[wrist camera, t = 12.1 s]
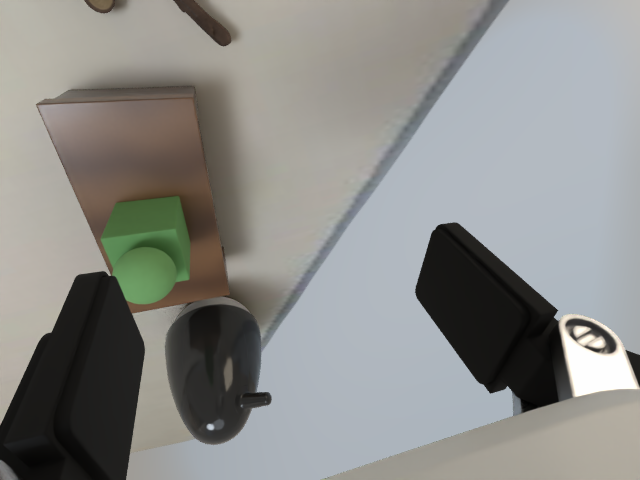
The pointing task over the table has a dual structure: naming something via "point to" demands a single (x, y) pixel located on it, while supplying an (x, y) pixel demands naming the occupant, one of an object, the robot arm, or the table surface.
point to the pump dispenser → (215, 368)
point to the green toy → (148, 247)
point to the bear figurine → (104, 3)
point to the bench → (141, 169)
